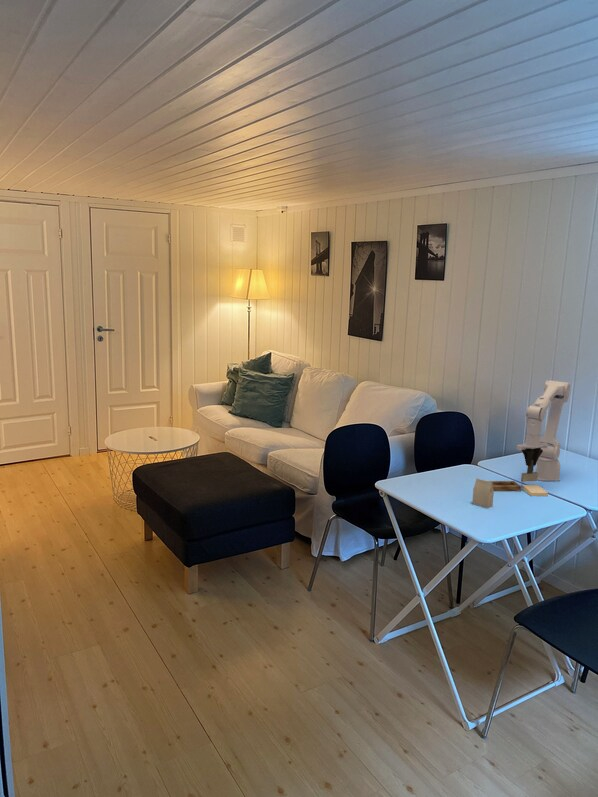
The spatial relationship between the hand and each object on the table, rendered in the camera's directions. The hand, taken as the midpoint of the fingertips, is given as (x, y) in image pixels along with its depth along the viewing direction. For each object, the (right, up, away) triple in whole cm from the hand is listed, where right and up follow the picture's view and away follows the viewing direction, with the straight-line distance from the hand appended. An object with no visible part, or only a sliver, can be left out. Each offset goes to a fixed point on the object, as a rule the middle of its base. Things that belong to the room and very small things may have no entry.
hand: (530, 465), depth 261 cm
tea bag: (-26, -14, -18) cm, 34 cm away
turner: (0, -7, +1) cm, 7 cm away
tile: (0, -9, +1) cm, 9 cm away
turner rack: (-11, -10, +1) cm, 15 cm away
